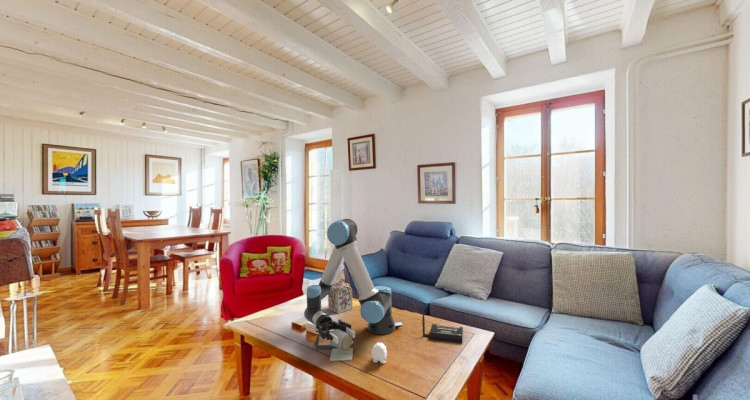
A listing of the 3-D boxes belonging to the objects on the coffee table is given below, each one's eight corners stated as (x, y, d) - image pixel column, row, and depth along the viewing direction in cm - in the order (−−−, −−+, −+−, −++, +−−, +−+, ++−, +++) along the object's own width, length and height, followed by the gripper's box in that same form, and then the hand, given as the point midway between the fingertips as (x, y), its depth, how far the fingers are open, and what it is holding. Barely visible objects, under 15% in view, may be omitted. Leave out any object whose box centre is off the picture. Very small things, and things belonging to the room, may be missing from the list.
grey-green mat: (352, 348, 152) (352, 348, 152) (352, 360, 142) (352, 359, 142) (332, 349, 151) (332, 348, 151) (329, 360, 141) (329, 360, 141)
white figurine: (370, 345, 137) (376, 335, 149) (370, 365, 137) (376, 353, 148) (384, 346, 136) (389, 336, 147) (384, 366, 135) (389, 355, 147)
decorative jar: (343, 304, 212) (342, 277, 211) (353, 309, 203) (352, 281, 202) (327, 308, 204) (326, 281, 204) (337, 314, 195) (336, 285, 195)
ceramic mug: (342, 353, 141) (342, 336, 141) (329, 348, 146) (329, 331, 146) (357, 344, 150) (357, 328, 149) (344, 339, 154) (345, 324, 154)
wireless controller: (463, 333, 167) (462, 301, 166) (462, 345, 153) (461, 310, 153) (425, 328, 173) (424, 298, 172) (421, 340, 159) (420, 307, 159)
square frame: (346, 333, 169) (346, 330, 169) (344, 348, 153) (344, 345, 153) (320, 334, 168) (320, 331, 168) (315, 349, 152) (315, 346, 152)
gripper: (340, 323, 167) (365, 339, 149) (303, 334, 155) (325, 353, 136) (340, 309, 167) (364, 323, 149) (303, 319, 154) (325, 336, 136)
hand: (345, 337), depth 143 cm, fingers closed on ceramic mug, 8 cm apart
